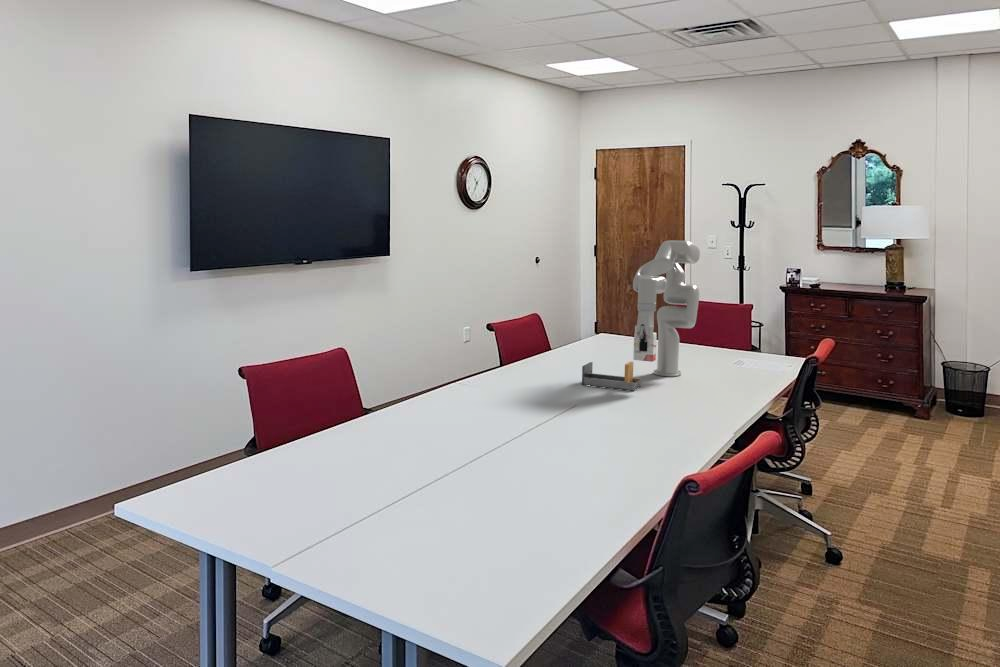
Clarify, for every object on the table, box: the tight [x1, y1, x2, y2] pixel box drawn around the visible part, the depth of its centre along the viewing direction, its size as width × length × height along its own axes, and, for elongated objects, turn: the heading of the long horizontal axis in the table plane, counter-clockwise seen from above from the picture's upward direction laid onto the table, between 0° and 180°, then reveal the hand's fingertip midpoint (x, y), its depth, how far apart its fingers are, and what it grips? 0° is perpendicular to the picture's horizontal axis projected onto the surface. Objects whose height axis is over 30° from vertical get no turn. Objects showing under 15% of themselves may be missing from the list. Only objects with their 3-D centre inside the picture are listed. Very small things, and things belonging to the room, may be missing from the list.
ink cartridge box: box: [632, 325, 658, 362], centre depth 312 cm, size 9×5×15 cm, turn 62°
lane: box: [581, 361, 641, 392], centre depth 321 cm, size 10×23×8 cm, turn 63°
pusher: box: [624, 361, 634, 383], centre depth 318 cm, size 7×2×10 cm, turn 153°
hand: (645, 349), depth 312 cm, fingers closed on ink cartridge box, 5 cm apart
